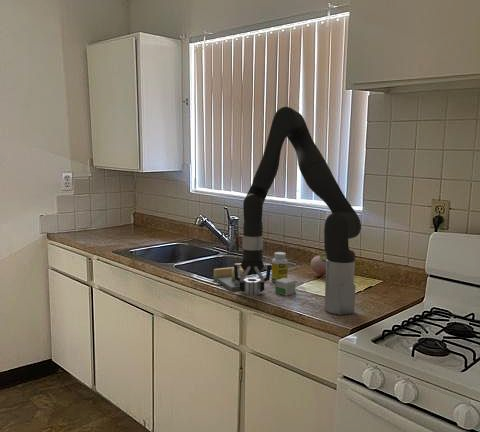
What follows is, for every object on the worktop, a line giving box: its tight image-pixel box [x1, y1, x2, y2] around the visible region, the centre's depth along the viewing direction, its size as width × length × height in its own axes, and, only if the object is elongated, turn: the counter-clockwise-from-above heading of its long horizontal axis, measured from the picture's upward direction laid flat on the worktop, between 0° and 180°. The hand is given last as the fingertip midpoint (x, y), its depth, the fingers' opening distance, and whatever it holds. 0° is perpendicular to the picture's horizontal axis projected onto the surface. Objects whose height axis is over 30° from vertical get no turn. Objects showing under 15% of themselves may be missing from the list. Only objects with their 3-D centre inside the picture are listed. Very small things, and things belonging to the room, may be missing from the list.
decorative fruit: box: [310, 253, 327, 277], centre depth 209 cm, size 9×8×10 cm
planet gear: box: [243, 277, 262, 297], centre depth 183 cm, size 6×6×5 cm
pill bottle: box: [270, 251, 289, 283], centre depth 200 cm, size 6×6×12 cm
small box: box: [274, 277, 297, 296], centre depth 185 cm, size 6×6×5 cm
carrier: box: [213, 266, 251, 292], centre depth 196 cm, size 18×13×8 cm
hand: (251, 291), depth 183 cm, fingers closed on planet gear, 6 cm apart
